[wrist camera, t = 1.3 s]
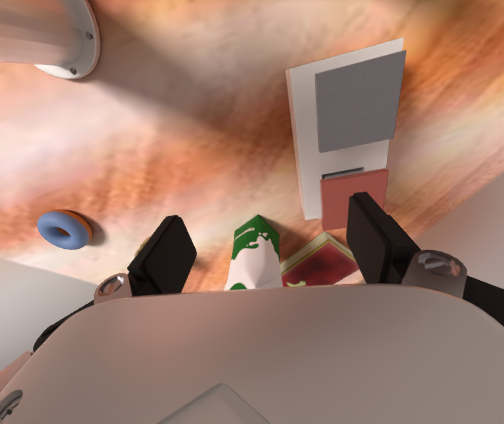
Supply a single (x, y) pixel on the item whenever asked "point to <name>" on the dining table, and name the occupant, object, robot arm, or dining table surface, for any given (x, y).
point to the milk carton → (255, 257)
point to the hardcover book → (318, 263)
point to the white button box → (305, 128)
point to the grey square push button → (358, 102)
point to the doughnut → (64, 229)
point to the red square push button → (348, 193)
